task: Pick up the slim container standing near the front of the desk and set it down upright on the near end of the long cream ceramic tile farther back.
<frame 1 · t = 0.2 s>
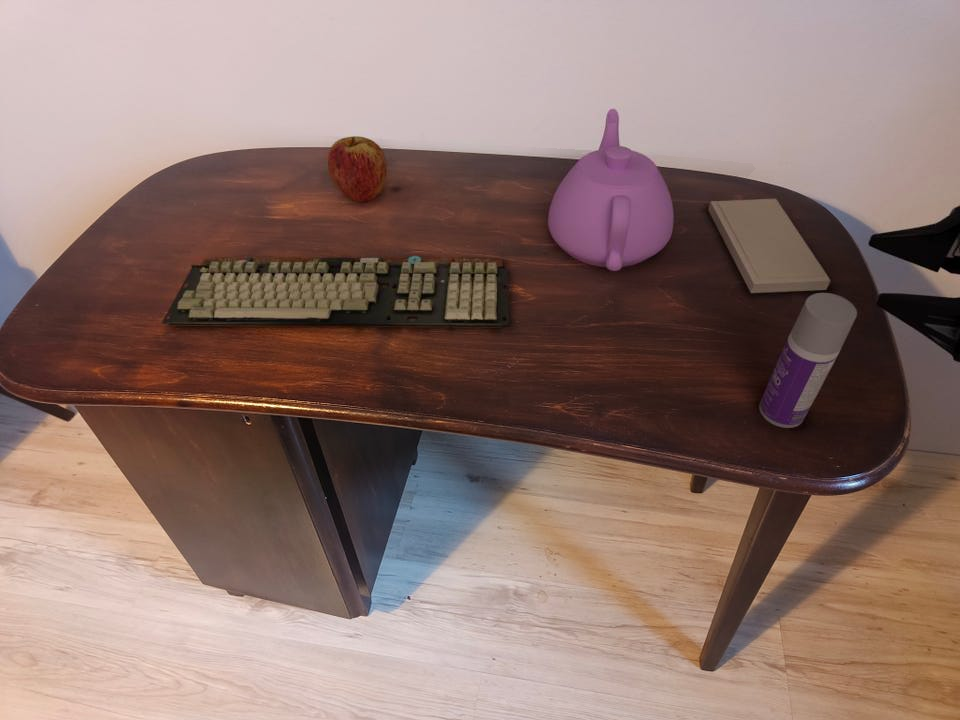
hand: (873, 267, 58), 18 cm above the table, tool horizontal, fingers open, 9 cm apart
apple: (363, 197, 104), on the table
keyboard: (345, 294, 87), on the table
tile: (762, 247, 91), on the table
container: (780, 412, 70), on the table
teapot: (606, 234, 95), on the table
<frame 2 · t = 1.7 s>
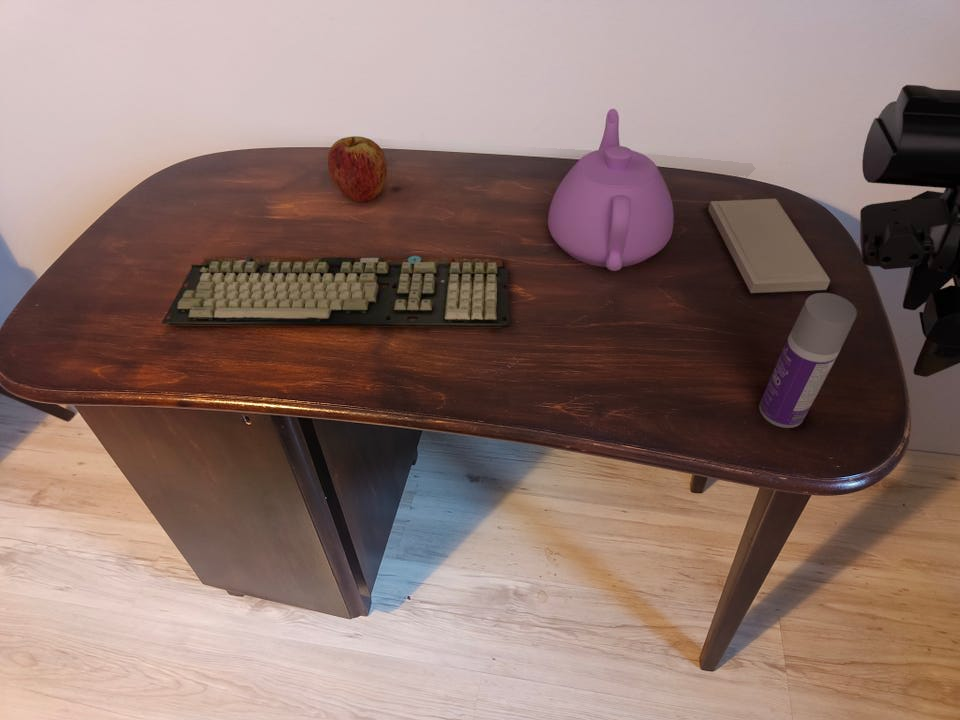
hand: (913, 339, 58), 13 cm above the table, tool pointing down, fingers open, 9 cm apart
nothing on the table moved.
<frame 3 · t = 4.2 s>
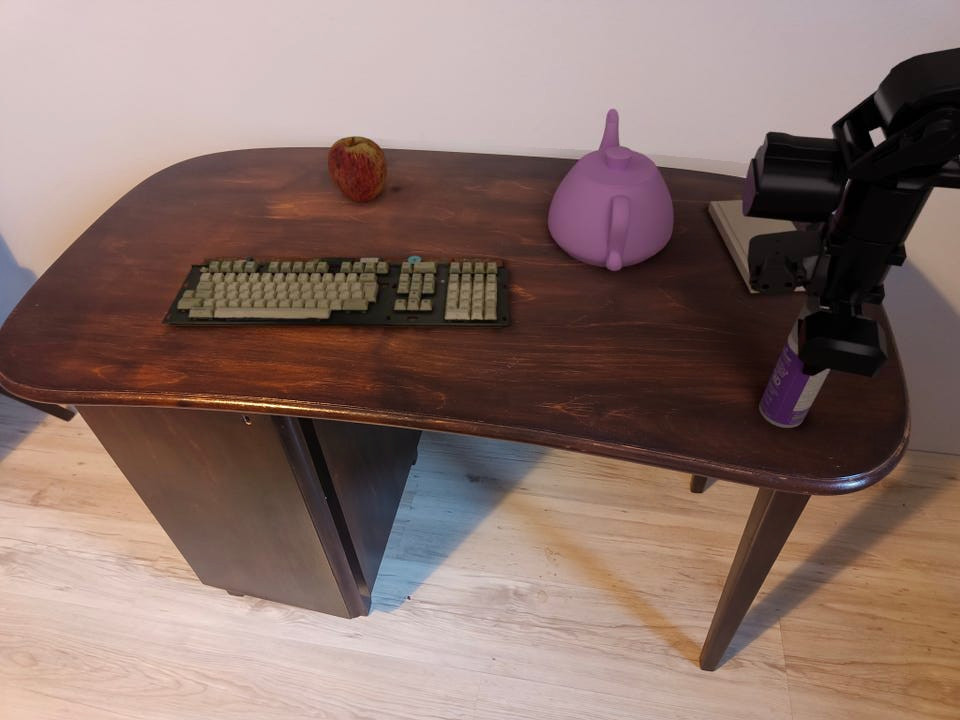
hand: (807, 356, 64), 9 cm above the table, tool pointing down, fingers closed on container, 5 cm apart
container: (780, 412, 70), on the table, touching gripper
everything else where it was.
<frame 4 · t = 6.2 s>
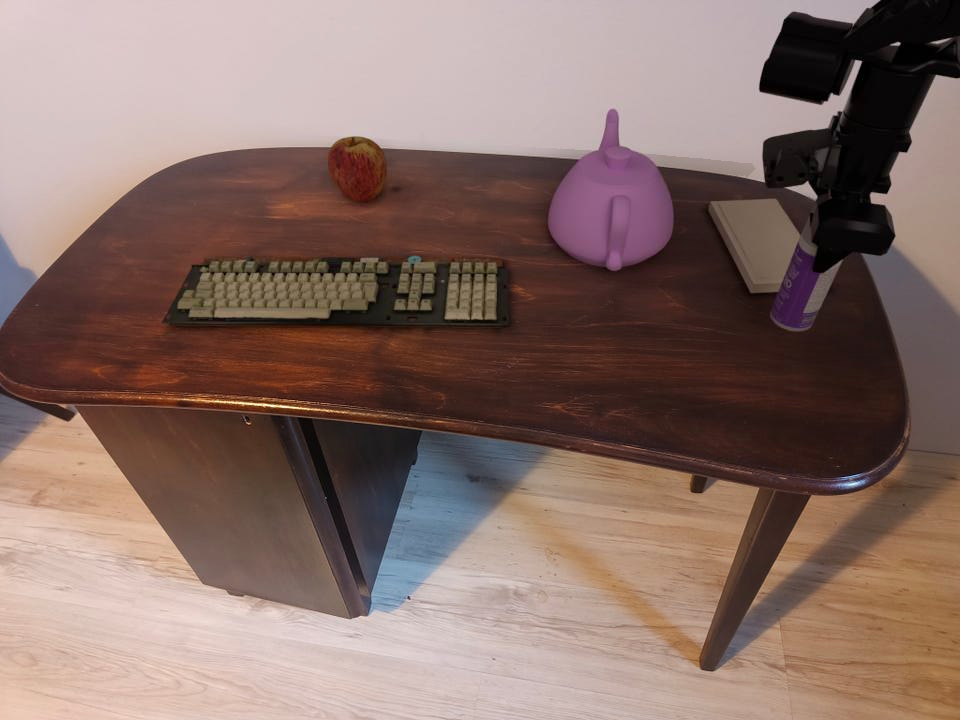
hand: (817, 258, 68), 13 cm above the table, tool pointing down, fingers closed on container, 5 cm apart
container: (790, 319, 74), point 4 cm above the table, touching gripper
everything else where it was.
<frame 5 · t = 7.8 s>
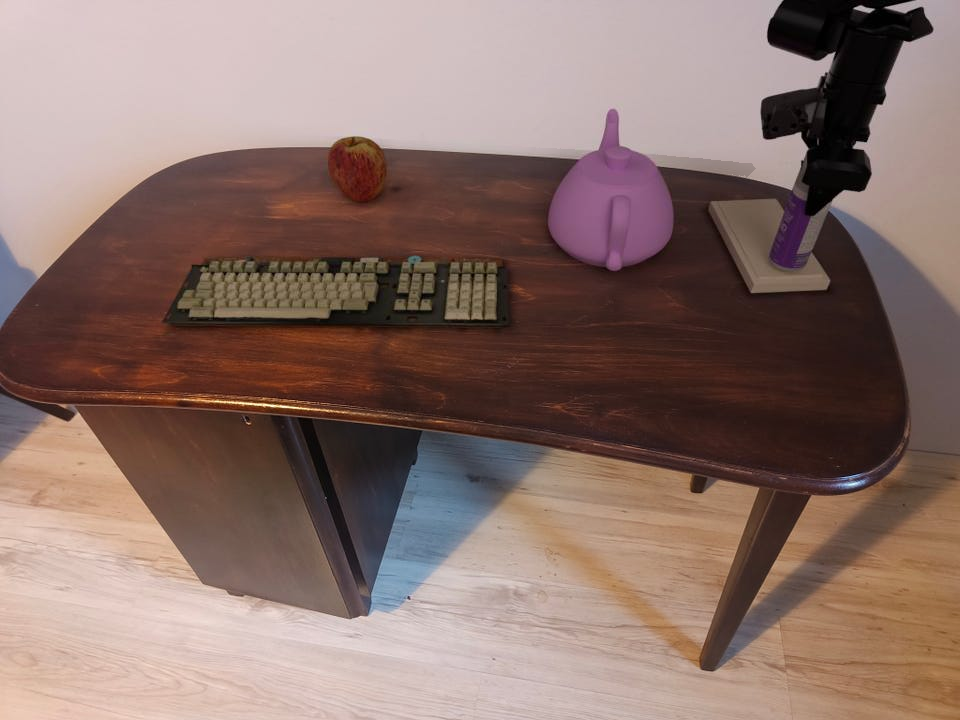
hand: (809, 204, 78), 11 cm above the table, tool pointing down, fingers closed on container, 5 cm apart
container: (786, 262, 84), point 3 cm above the table, touching gripper
everything else where it was.
when the fingers open (11 cm above the table, at t = 8.5 s): container stays where it is, resting on tile.
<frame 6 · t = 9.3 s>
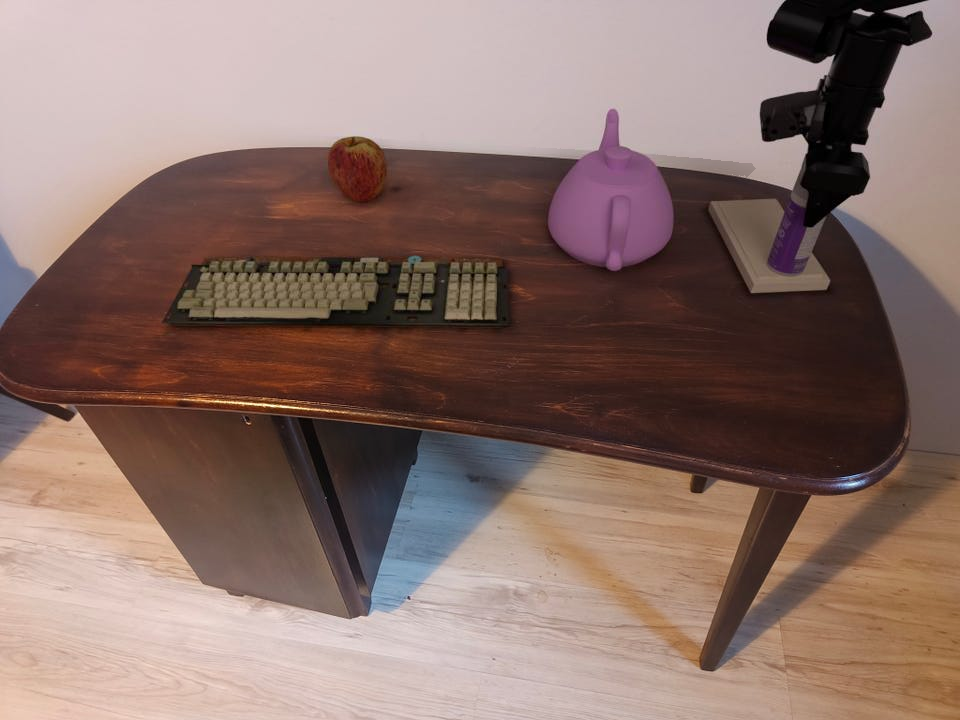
hand: (807, 206, 78), 11 cm above the table, tool pointing down, fingers open, 9 cm apart
container: (784, 267, 85), point 2 cm above the table, touching tile
everything else where it was.
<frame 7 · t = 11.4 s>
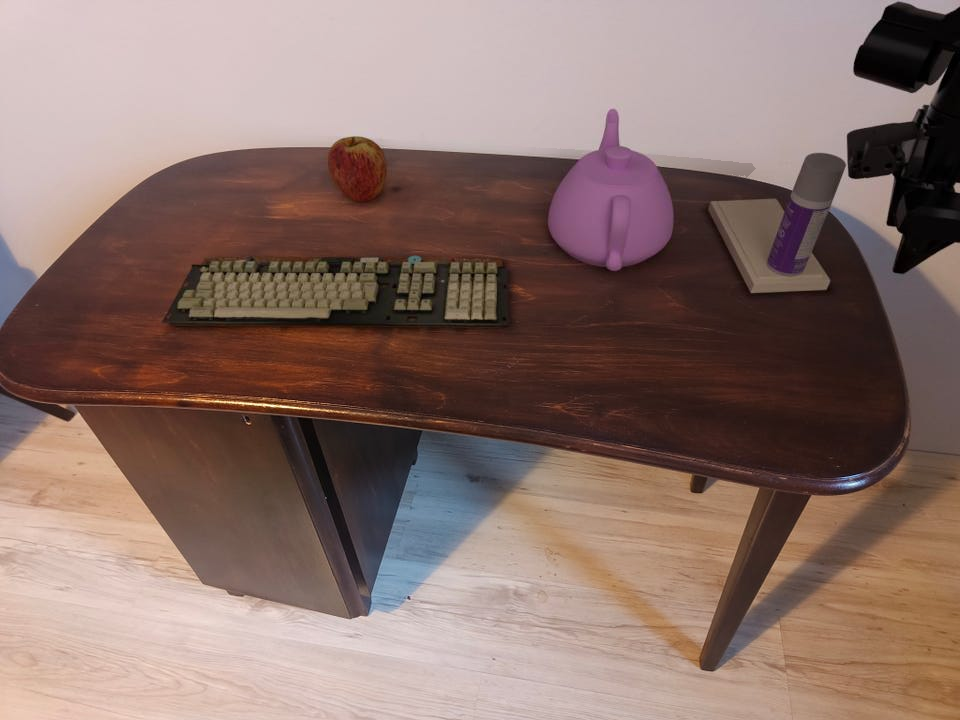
hand: (894, 248, 70), 12 cm above the table, tool pointing down, fingers open, 9 cm apart
nothing on the table moved.
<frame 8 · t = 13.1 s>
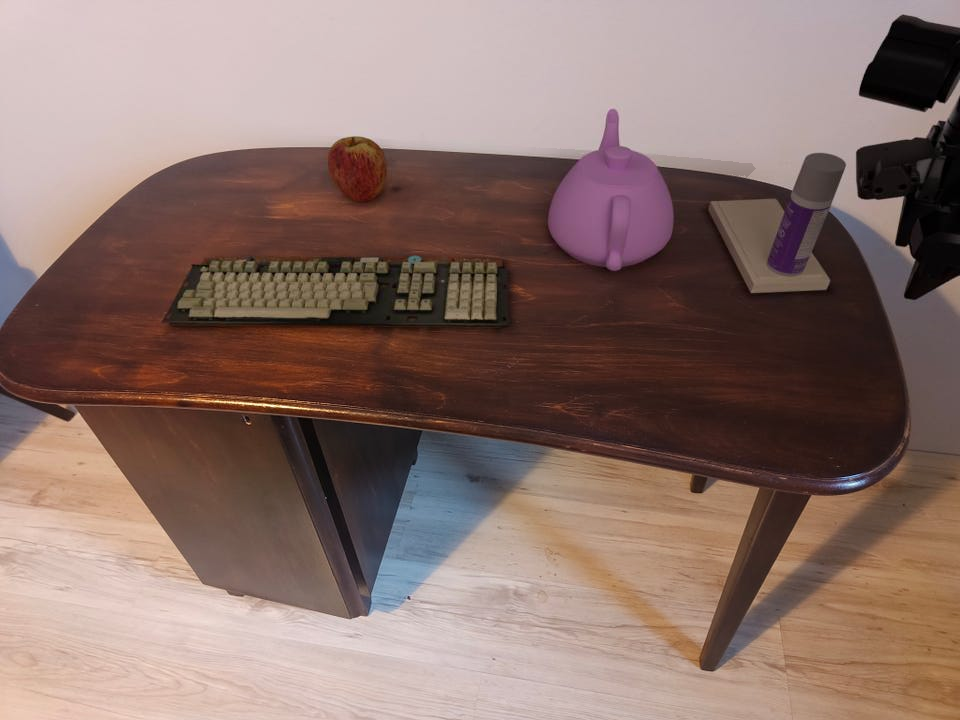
hand: (904, 270, 66), 13 cm above the table, tool pointing down, fingers open, 9 cm apart
nothing on the table moved.
at the end: container inside the target area on the tile (0.1 cm from its centre), point 1.8 cm above the tile's base; container tilted 0°; the gripper is holding nothing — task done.
